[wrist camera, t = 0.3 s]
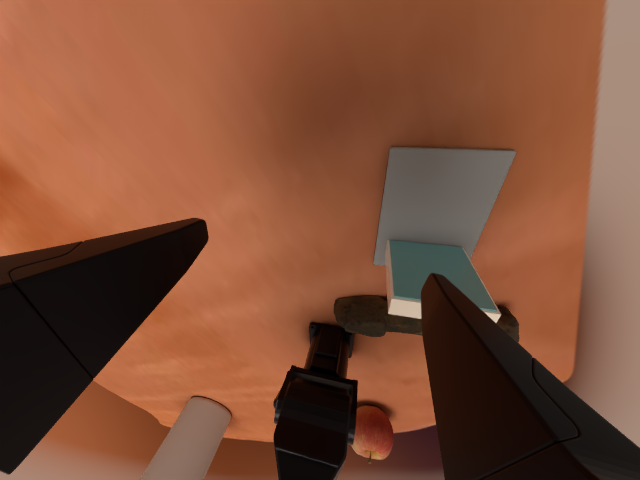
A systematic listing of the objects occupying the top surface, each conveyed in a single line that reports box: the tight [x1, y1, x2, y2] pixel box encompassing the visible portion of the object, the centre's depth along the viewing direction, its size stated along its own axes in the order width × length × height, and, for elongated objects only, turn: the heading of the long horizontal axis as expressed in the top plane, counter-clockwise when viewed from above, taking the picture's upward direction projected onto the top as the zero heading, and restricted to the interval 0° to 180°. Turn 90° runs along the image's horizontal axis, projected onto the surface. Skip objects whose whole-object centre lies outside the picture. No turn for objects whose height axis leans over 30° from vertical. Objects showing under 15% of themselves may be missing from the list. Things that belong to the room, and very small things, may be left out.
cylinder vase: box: [140, 397, 231, 480], centre depth 52 cm, size 12×12×25 cm
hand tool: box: [334, 295, 519, 342], centre depth 26 cm, size 19×4×5 cm, turn 93°
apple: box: [351, 405, 393, 463], centre depth 40 cm, size 8×8×8 cm
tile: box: [385, 240, 501, 323], centre depth 19 cm, size 2×7×8 cm, turn 91°
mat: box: [373, 147, 517, 266], centre depth 21 cm, size 12×9×1 cm
